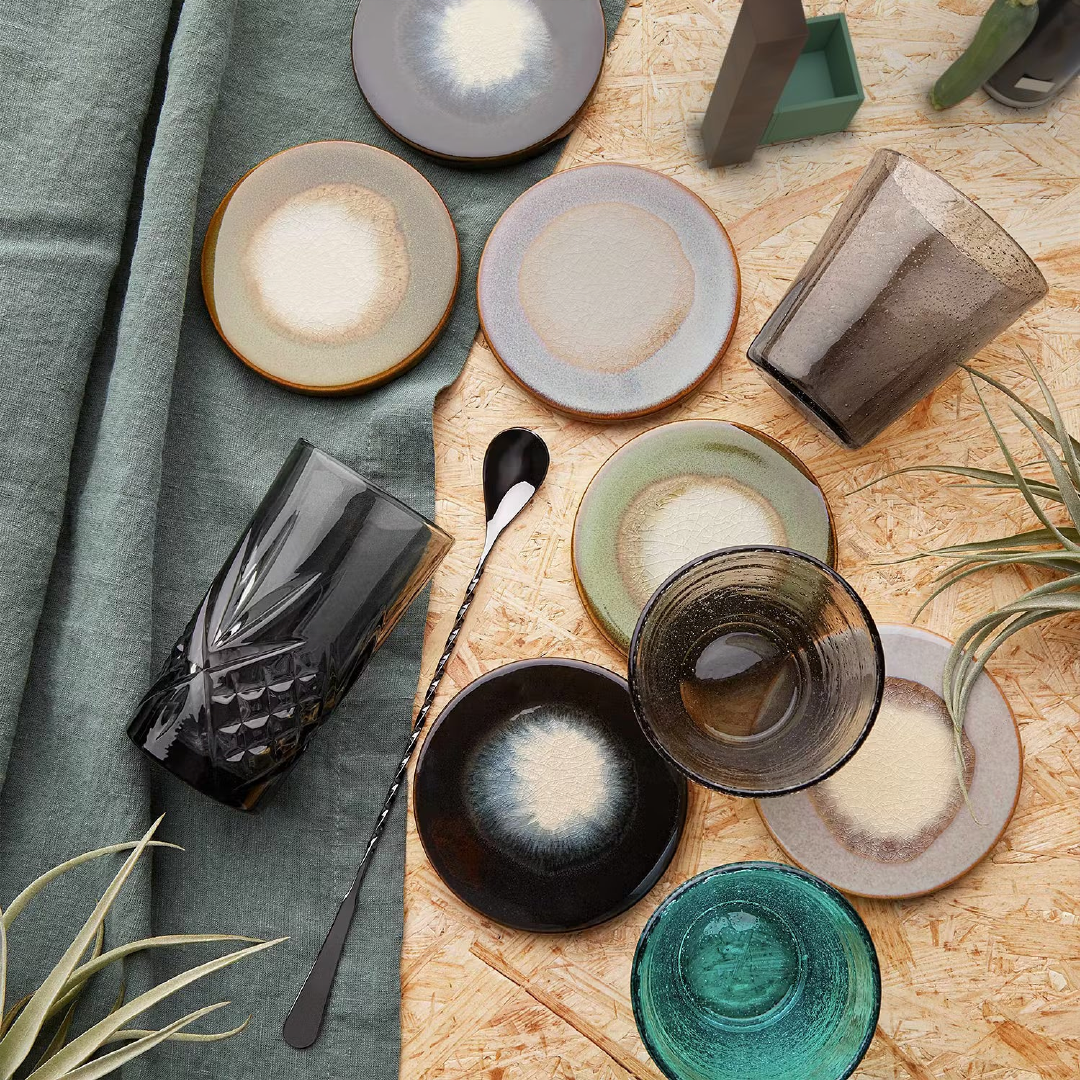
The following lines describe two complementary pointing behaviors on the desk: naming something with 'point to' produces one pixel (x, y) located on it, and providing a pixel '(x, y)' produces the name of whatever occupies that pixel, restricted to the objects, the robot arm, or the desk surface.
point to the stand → (752, 78)
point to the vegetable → (986, 50)
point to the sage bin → (819, 84)
